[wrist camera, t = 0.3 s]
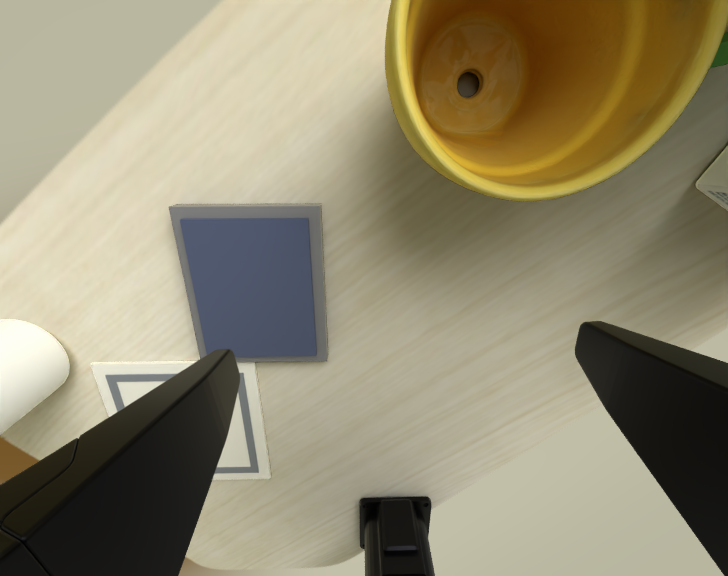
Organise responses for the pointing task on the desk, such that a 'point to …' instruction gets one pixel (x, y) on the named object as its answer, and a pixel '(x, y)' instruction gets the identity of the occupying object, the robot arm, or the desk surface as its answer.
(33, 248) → the desk surface
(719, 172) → the container
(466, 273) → the desk surface
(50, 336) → the beverage can
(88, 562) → the robot arm
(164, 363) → the print card
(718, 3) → the plant pot
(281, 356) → the ink pad
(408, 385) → the desk surface
